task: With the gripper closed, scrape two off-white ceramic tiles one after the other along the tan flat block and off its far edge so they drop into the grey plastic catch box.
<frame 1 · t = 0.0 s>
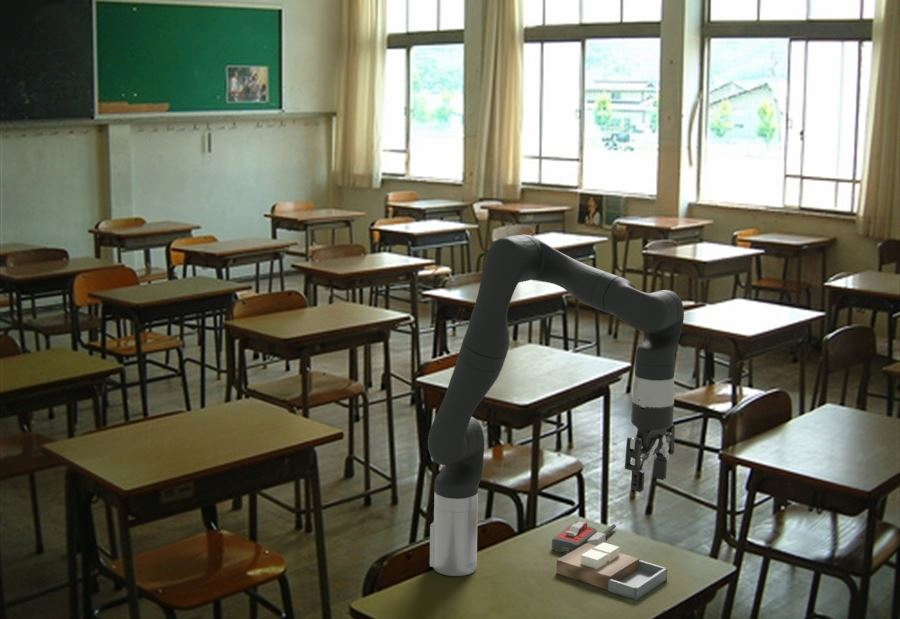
hand: (648, 484, 210), 29 cm above the table, tool pointing down, fingers open, 8 cm apart
tile a: (593, 563, 239), point 3 cm above the table, touching tan flat block
catch box: (637, 585, 235), on the table
tan flat block: (597, 572, 241), on the table
tile b: (606, 556, 242), point 3 cm above the table, touching tan flat block
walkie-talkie: (583, 543, 259), on the table
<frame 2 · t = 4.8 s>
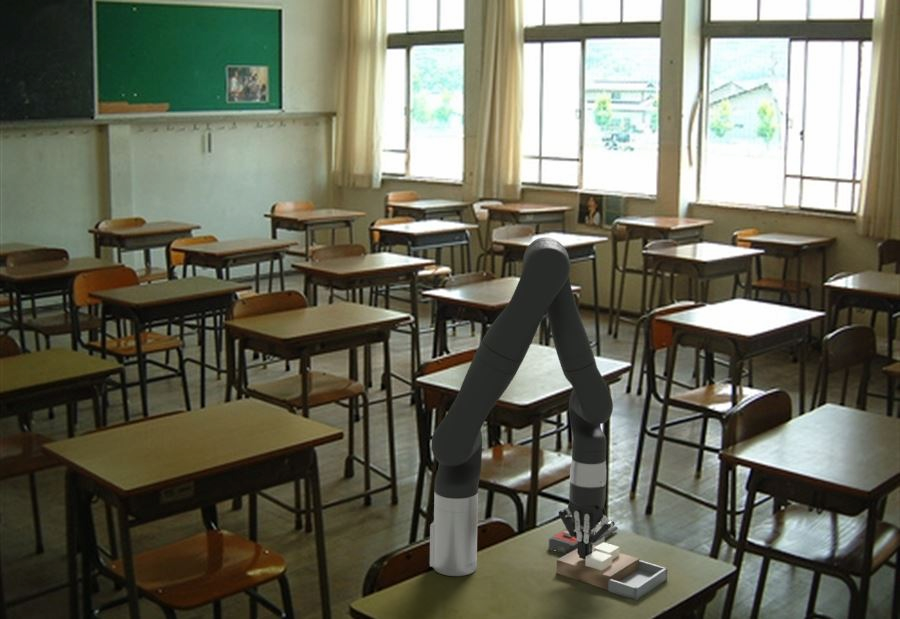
hand: (584, 557, 240), 4 cm above the table, tool pointing down, fingers closed
tile a: (598, 565, 238), point 3 cm above the table, touching tan flat block
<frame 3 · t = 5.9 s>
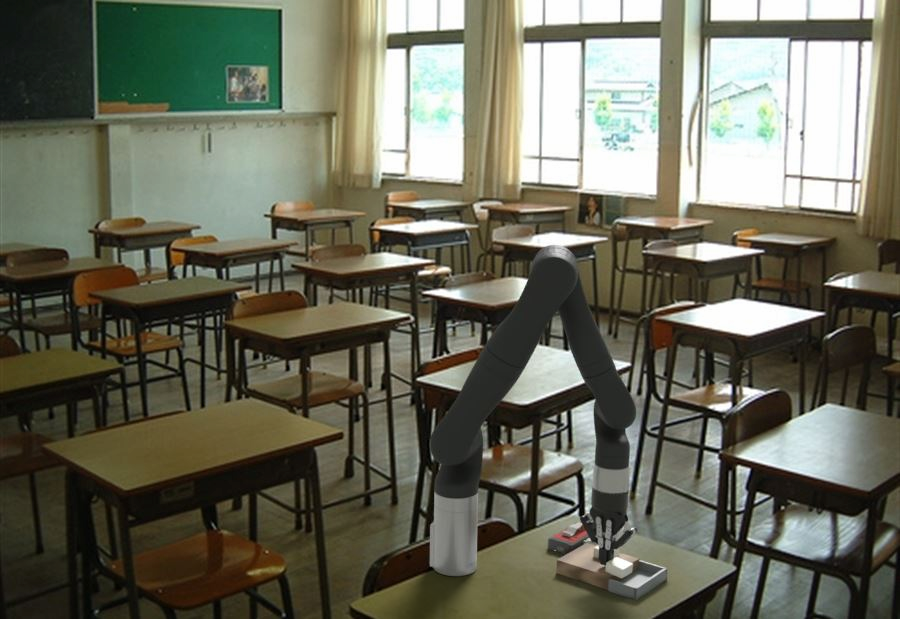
hand: (605, 564, 237), 4 cm above the table, tool pointing down, fingers closed
tile a: (618, 571, 235), point 3 cm above the table, tilted 6°, touching tan flat block, gripper
everything else where it was.
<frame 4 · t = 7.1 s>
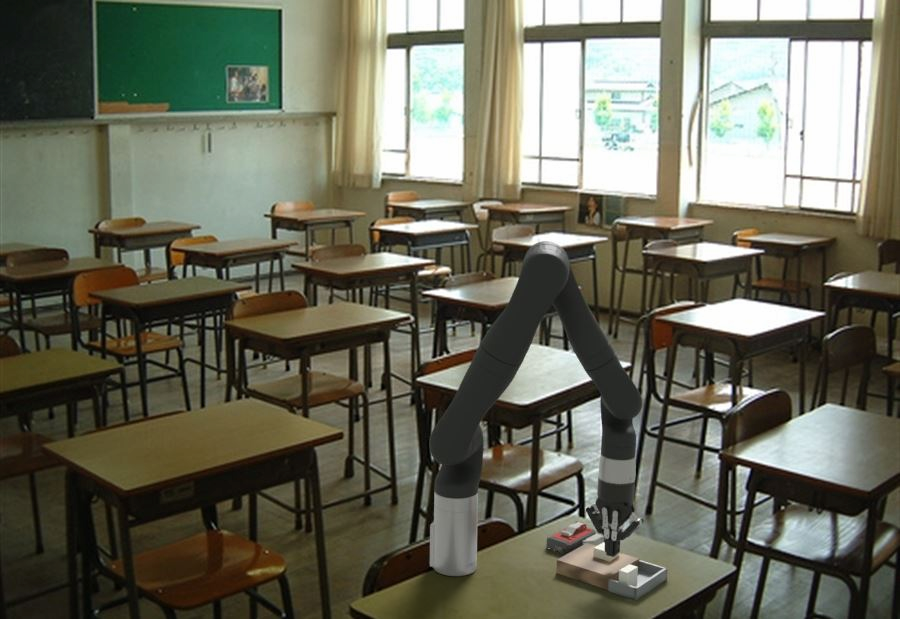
hand: (611, 555, 236), 6 cm above the table, tool pointing down, fingers closed
tile a: (623, 576, 234), point 2 cm above the table, tilted 90°, touching catch box
everything else where it was.
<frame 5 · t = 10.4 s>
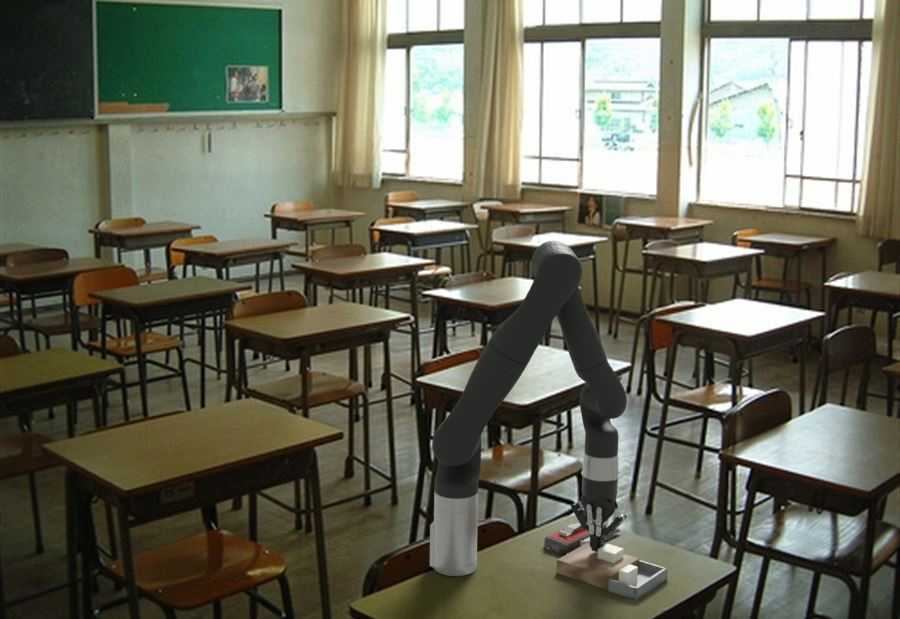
hand: (596, 550, 244), 4 cm above the table, tool pointing down, fingers closed
tile b: (610, 557, 242), point 3 cm above the table, touching tan flat block, gripper
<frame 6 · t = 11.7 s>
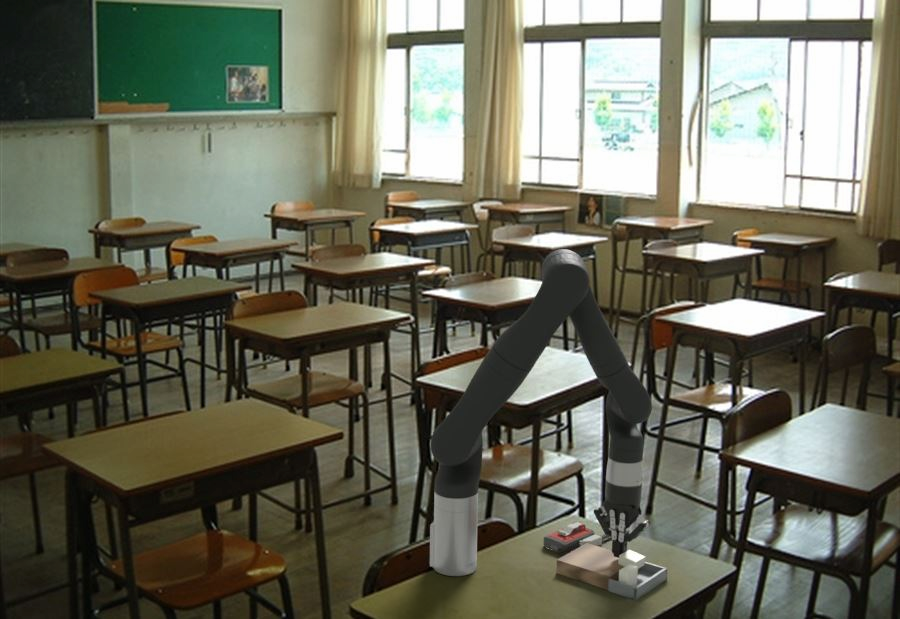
hand: (619, 556, 241), 4 cm above the table, tool pointing down, fingers closed
tile b: (631, 564, 239), point 3 cm above the table, tilted 7°, touching tan flat block, gripper
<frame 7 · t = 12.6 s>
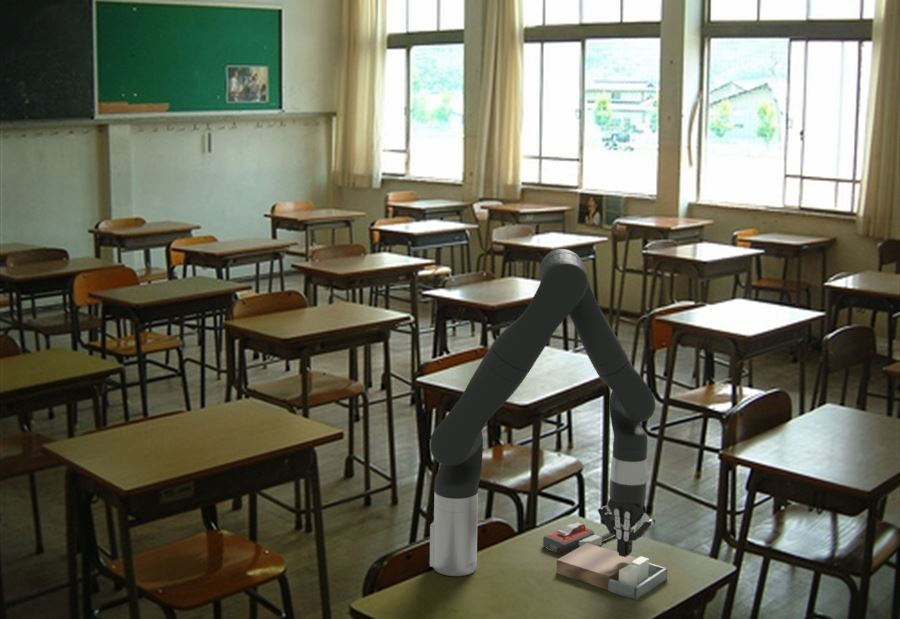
hand: (624, 555, 240), 4 cm above the table, tool pointing down, fingers closed
tile b: (635, 568, 238), point 2 cm above the table, tilted 90°, touching catch box
everything else where it was.
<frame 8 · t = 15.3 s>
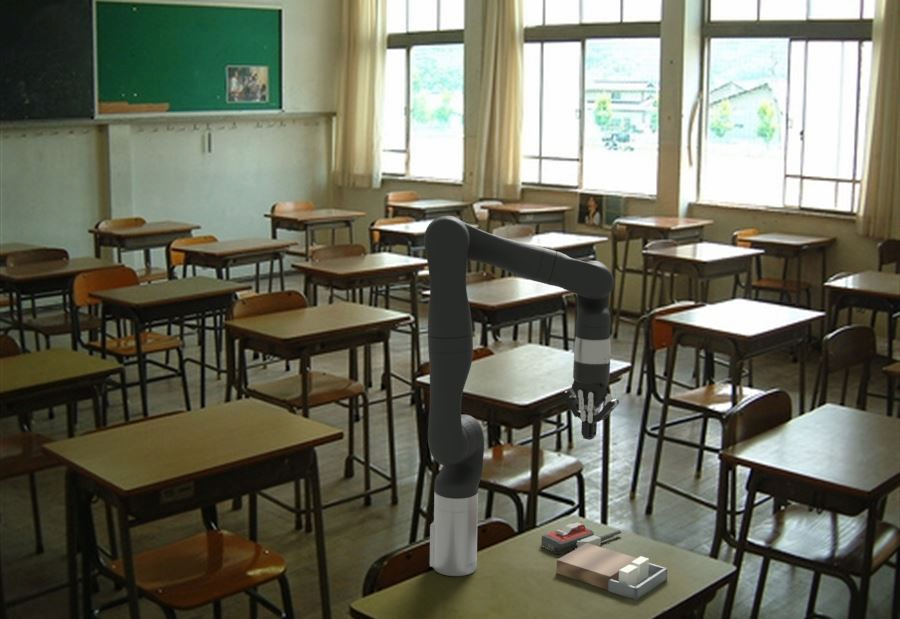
hand: (588, 438, 238), 29 cm above the table, tool pointing down, fingers closed
at the end: tile a inside the target area (3.6 cm from its centre), point 2.5 cm above the table; tile b inside the target area (3.1 cm from its centre), point 2.5 cm above the table; tile a touching catch box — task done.
